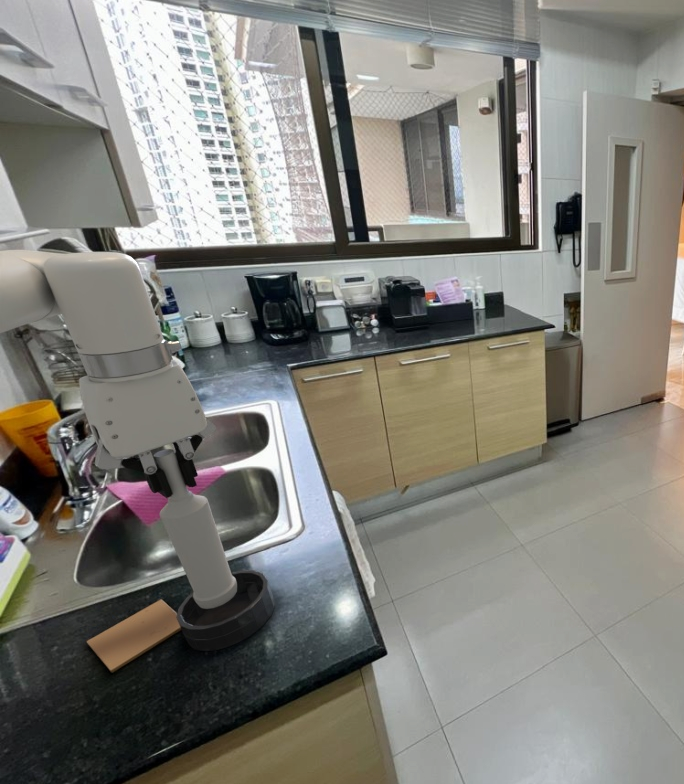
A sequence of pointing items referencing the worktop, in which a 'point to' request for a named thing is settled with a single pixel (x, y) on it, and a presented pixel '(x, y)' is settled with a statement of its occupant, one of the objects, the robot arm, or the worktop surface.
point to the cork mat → (135, 635)
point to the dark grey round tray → (228, 614)
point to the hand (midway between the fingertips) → (176, 487)
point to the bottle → (195, 538)
